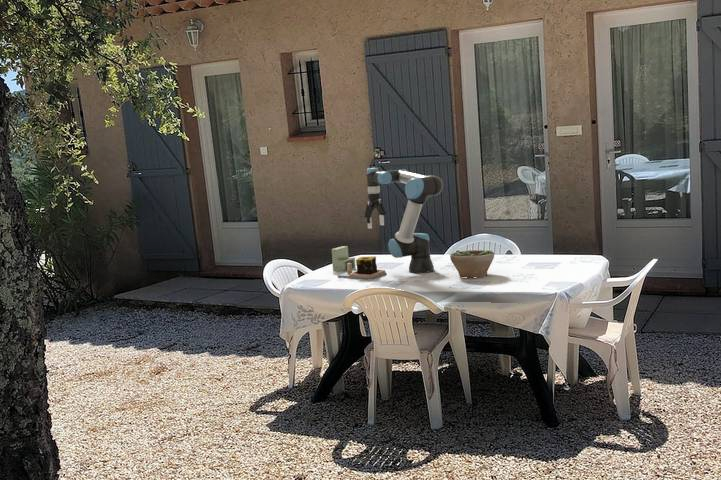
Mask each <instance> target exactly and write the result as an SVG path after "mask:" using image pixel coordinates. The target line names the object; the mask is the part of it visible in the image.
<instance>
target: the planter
mask: <svg viewBox="0 0 721 480" xmlns="http://www.w3.org/2000/svg"><path fill="white" fill-rule="evenodd" d="M449 256H450V257H449V258H450V261H451V263H452V264H453V266H454V268H456V271H457V272H458V276H460V277H459V278H461V277H467V278H466V279H475V278H474V277H481V278H484V277H483V276H485V277H487V276H488V271H489V268H491V267H490V266H491V265H492V262H493V260H494V258H495V252H494V251H493V250H481V249H474V250H461V251H455V252H452V253H450V254H449ZM486 275H487V276H486Z"/></svg>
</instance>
